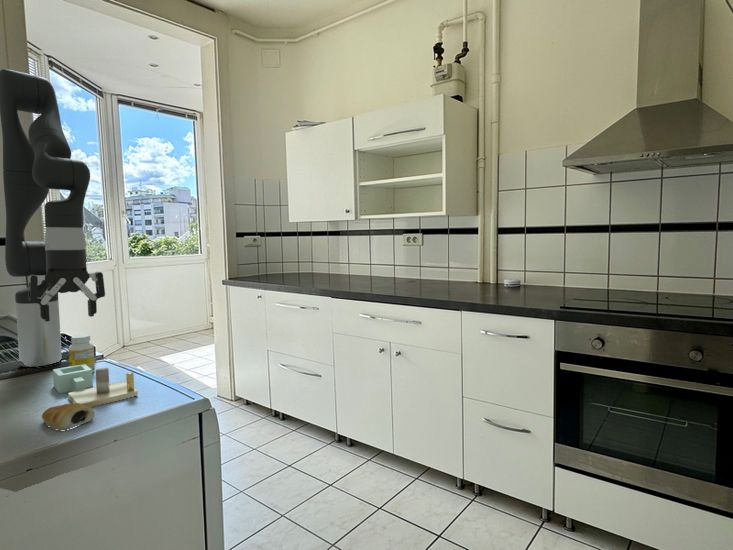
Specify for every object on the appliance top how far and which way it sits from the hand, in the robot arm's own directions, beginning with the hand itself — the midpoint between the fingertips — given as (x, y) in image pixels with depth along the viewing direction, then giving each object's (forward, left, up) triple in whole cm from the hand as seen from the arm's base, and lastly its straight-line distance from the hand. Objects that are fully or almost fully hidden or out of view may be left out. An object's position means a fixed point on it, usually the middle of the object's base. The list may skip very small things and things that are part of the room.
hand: (69, 318), depth 99 cm
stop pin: (+16, +8, -15) cm, 23 cm away
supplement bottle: (-10, +4, -16) cm, 19 cm away
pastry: (+22, -5, -17) cm, 28 cm away
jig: (+13, +3, -16) cm, 21 cm away
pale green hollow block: (+2, 0, -16) cm, 16 cm away
